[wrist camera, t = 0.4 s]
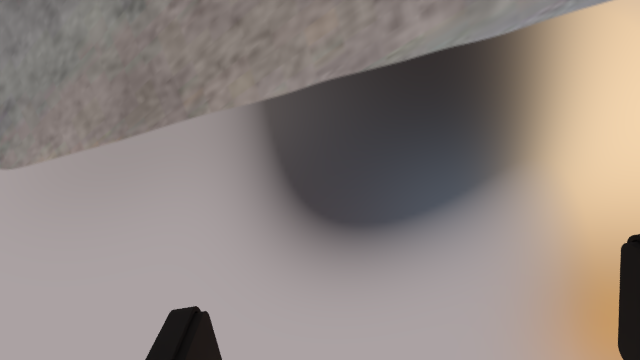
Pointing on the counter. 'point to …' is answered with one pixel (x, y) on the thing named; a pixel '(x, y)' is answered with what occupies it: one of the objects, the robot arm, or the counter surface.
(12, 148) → the counter surface
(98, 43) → the counter surface
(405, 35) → the counter surface
